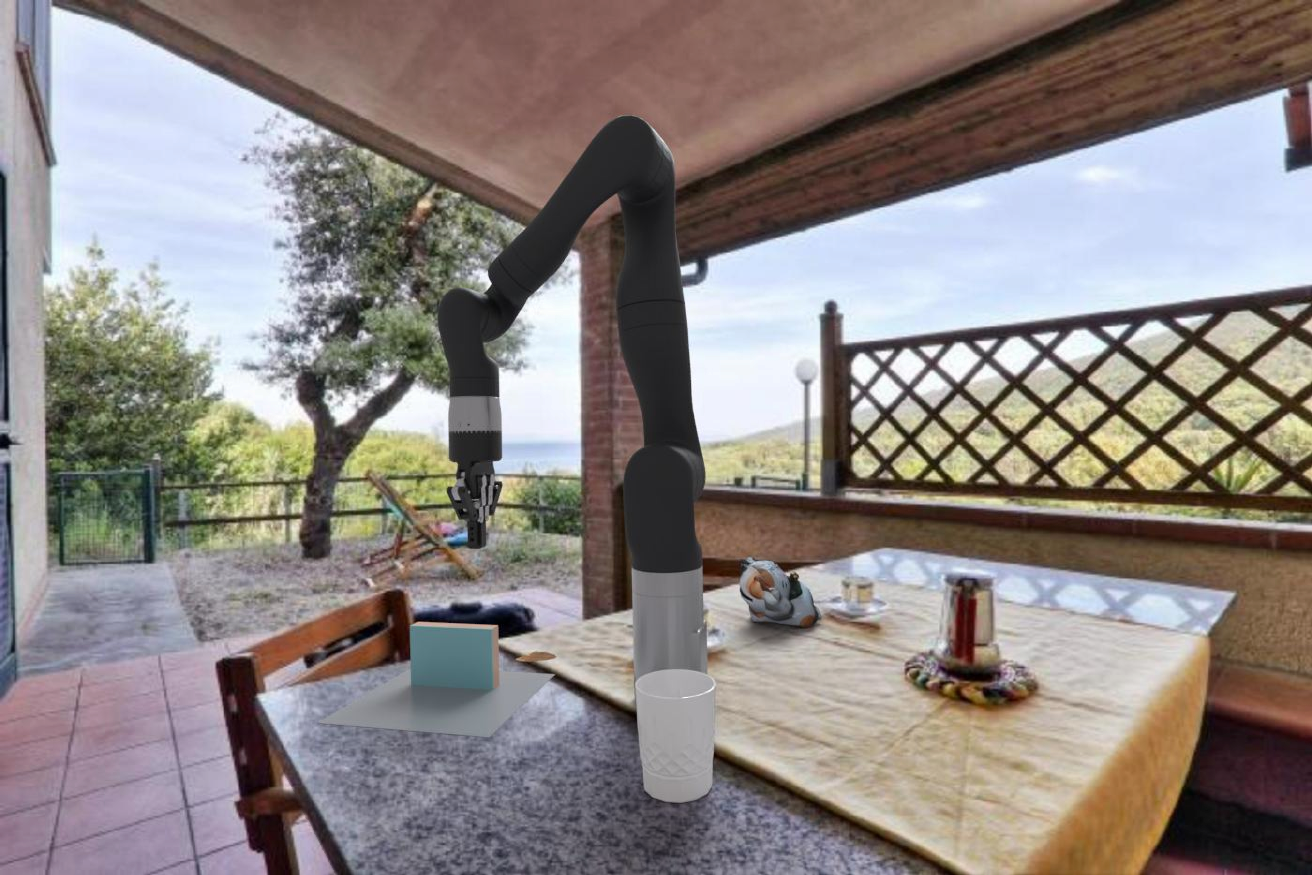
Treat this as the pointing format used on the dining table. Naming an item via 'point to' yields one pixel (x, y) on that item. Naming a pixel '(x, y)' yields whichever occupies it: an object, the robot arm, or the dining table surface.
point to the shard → (537, 656)
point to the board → (440, 706)
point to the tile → (454, 655)
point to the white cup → (676, 733)
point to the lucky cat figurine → (776, 595)
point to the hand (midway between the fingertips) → (477, 547)
